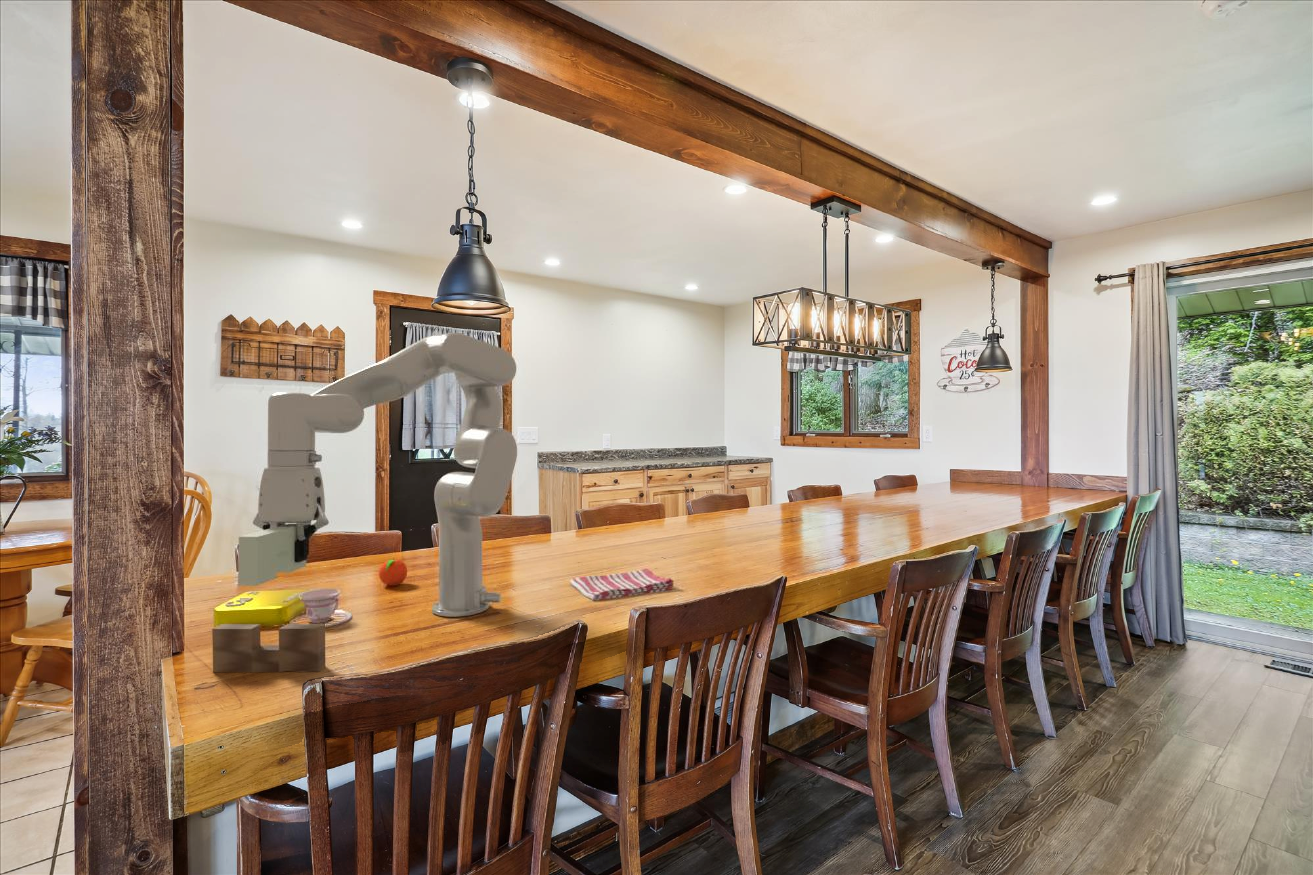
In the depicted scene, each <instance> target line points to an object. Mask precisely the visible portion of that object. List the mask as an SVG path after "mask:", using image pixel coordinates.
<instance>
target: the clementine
mask: <svg viewBox="0 0 1313 875" xmlns="http://www.w3.org/2000/svg"><path fill="white" fill-rule="evenodd" d="M407 575H408V567H407V565H406V564H405V562H403V561H402V560H400V559H399V558H398V559H397V558H391V559H387V560H386V561H384V563H382V564H381V566H380V568H379V573H378V576H379V579H380V581H381V582H382V583H383V584H384V585H386V586H390V587H394V586H399V585H400V584H401V583H403V582H404V581H405V579H406V578H407Z"/></svg>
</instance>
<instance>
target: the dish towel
mask: <svg viewBox="0 0 1313 875" xmlns="http://www.w3.org/2000/svg"><path fill="white" fill-rule="evenodd" d="M569 583H570V585H571V586H572V587H573V588H575V590H577V591H578V592H580V593H581V594H582V595H583V596H584V597H586V598H587V599H590V600H591V601H593V602H595V601H601V600H609V599H616V598H623V597H628V596H629V597H630V596H636V595H637V596H638V595H643V594H644V595H645V594H652V593H659V592H665V591H671V590H672V589H673V587H674V586H675V585H674V579H672V578H671V577H668V578H665V577H660V576H659V575H656V574H654V572H653V571H652V570H650V569H649V568H643V569H637V570H633V571H628V572H627V571H626V572H622V573H611V574H606V575H598V574H597V575H585V576H581V577H573V578H571V580H570V581H569Z"/></svg>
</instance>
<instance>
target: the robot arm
mask: <svg viewBox="0 0 1313 875" xmlns="http://www.w3.org/2000/svg"><path fill="white" fill-rule="evenodd" d="M450 373H451V374H452V373H453V374H454V376H455V378H456V381H457V382H458V384H459V386H460V388H461V389H462V392H463V394H464V398H465V409H464V413H463V417H462V420H461V423H460V427H459V430H458V433H457V436H456V440H455V443H454V448H453V457H454V460H456V462H457V463H458V464H459V465H461V466H463V467H466V468H472V469H475V472H471V471H469V472H466V471H452V472H448V473H446V474H444V475H443V476H442V477H441V478H440V479H438V481H437V482H436V485H435V487H434V491H433V492H434V493H433V498H434V504H435V510H436V516H437V524H438V590H439V591H438V594H439V595H438V601H436V602H435V603H433V605H431V612H432V613H433V614H434V615H436V616H440V617H449V618H451V617H452V618H453V617H456V618H457V617H466V616H472V615H473V616H474V615H477V614H480V613H483V612H485V611H487V610H488V609H489V607H490V603H496V604H497V603H501V600H502V594H501V593H498V592H497V591H496V592H495V591H494V592H493V591H491V592H489V591H487V588H486V586H484V585H483V529H482V524H481V521H480V520H481V519H480V518H487V517H488V518H489V517H491V516H494V515H495V514H497V513H498V512H499V511H500V509H501V508H502V507H503V505H504V503H505V501H506V497H507V494H508V492H509V488H510V484H511V481H512V477H513V474H514V470H515V465H516V463H517V458H518V445H517V442H516V439H515V436H514V435H513V434H512V433H511V432H510V431H508V430H506V429H505V428H501V427H500V426H501V420H502V416H503V402H502V399H501V397H500V395H499V392H498V390H497V387H503V386H507V385H509V384H510V383H511V382H512V381H513V380H514V379H515V377H516V373H517V363H516V361H515V359H514V357H513V355H512V354H511V353H509V352H508V351H507V350H506V349H504V348H503V347H502V348H501V347H499V346H497V345H494V344H491V343H488V342H486V341H483V340H480V339H478V338H475V337H472V336H469V335H467V334H464V333H459V332H449V333H448V332H447V333H441V334H433V335H429V336H426V337H424V338H422V339H419V340H418V341H416V342H415V343H412V344H411V345H409V346H406V347H405V348H403V349H401V350H400V351H398V352H396V353H394V354H392V355H391V356H388V357H387V358H385V359H383V360H381V361H379V362H376V363H374V364H371V365H370V366H369V365H368V366H367V367H365V368H364V369H362V370H361V369H360V370H359V371H356V372H354V373H352V374H350V375H347V376H345V377H343V378H340V379H338V380H336V381H335V382H332V383H330V384H328V385H327V386H324V387H323V388H321V389H319V390H317V391H315V392H314V393H312V394H308V393H305V392H303V393H301V392H275V393H272V394H270V395H269V397H268V401H267V403H268V404H267V467H264V469H263V472H262V475H261V480H260V486H259V494H258V505H257V506H258V508H257V509H258V510H257V513H256V515H255V517H254V519H253V521H252V524H253V525H254V526H256V527H257V528H259V529H262V530H266V529H270V528H274V527H278V526H282V525H286V524H290V523H296V525H297V536H298V540H296V541H295V562H301V561H304V560H306V561H307V560H308V556H309V555H310V538H312V537H313V535H314V534H315V533H316V532H317V531H318V530H321V529H322V528H324V527H326V526H328V525H329V519H328V518H327V516H326V500H325V499H326V498H325V488H324V487H325V486H324V481H323V478H322V472H321V469H320V467H316V465H317V463H321V462H322V460H323V456H322V454H318V453H317V450H316V433H320V434H321V433H324V434H325V433H328V434H329V433H330V434H345V433H349V432H353V431H354V430H356V429H357V428H358V427H360V425H361V424H362V423H363V421H364V418H365V410H364V409H368V408H369V407H370V408H371V407H374V406H377V405H380V404H385V403H390V402H393V401H397V400H399V399H402V398H405V397H407V396H409V395H410V394H412V393H413V392H416V390H418V389H420V388H421V387H423V386H425V385H427V384H428V383H429V382H431V381H433V380H435V379H437V378H438V377H439V376H441V375H444V374H450ZM312 521H316V522H314V523H312Z"/></svg>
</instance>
